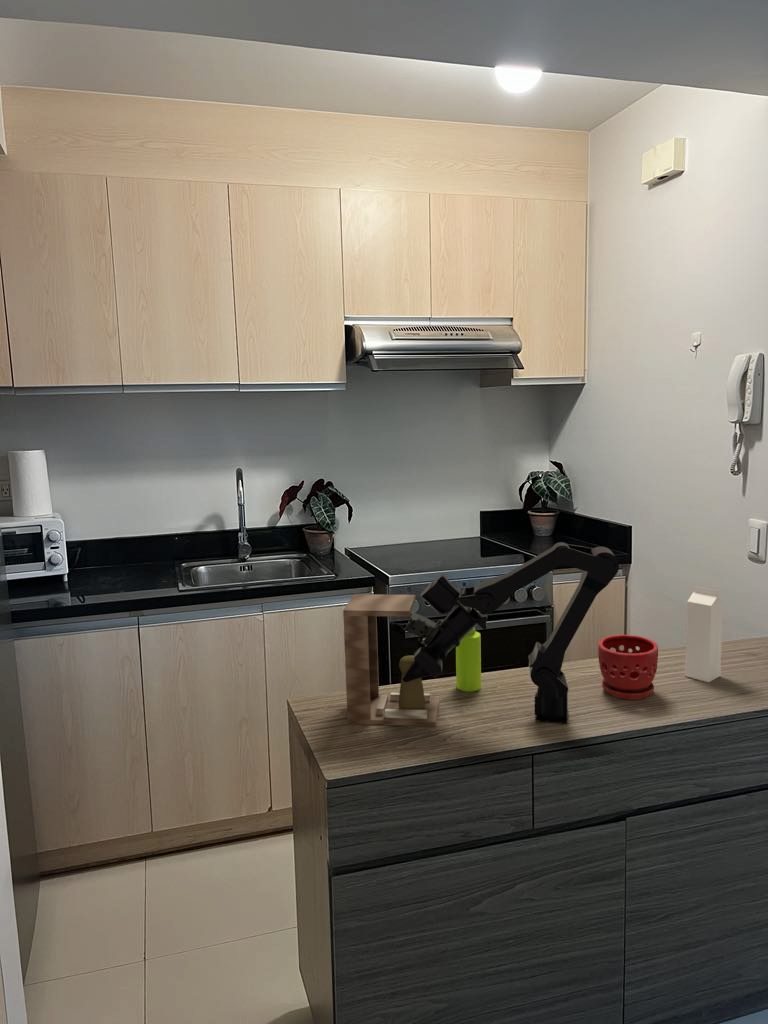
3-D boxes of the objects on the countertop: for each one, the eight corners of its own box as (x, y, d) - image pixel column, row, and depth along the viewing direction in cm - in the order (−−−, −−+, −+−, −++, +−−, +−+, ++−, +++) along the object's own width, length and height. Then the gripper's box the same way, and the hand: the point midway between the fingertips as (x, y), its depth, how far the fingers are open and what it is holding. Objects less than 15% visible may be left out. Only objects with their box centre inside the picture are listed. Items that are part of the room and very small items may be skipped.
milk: (696, 670, 188) (699, 583, 185) (720, 676, 183) (724, 587, 180) (684, 676, 184) (687, 588, 181) (708, 683, 180) (711, 592, 176)
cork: (416, 712, 163) (414, 663, 162) (393, 706, 167) (391, 658, 165) (430, 703, 168) (429, 655, 166) (408, 697, 172) (406, 650, 170)
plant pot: (591, 682, 182) (592, 634, 180) (647, 681, 182) (648, 633, 180) (605, 704, 169) (606, 653, 167) (665, 703, 169) (666, 652, 167)
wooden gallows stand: (439, 701, 173) (437, 594, 169) (435, 726, 161) (433, 611, 157) (357, 699, 176) (354, 594, 172) (347, 723, 163) (343, 610, 159)
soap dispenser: (466, 694, 177) (465, 611, 174) (452, 684, 183) (450, 604, 180) (488, 690, 179) (487, 608, 176) (473, 680, 185) (472, 601, 182)
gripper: (430, 591, 172) (384, 637, 176) (423, 614, 154) (372, 666, 157) (466, 624, 173) (419, 670, 176) (463, 652, 154) (410, 702, 158)
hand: (405, 676), depth 167 cm, fingers closed on cork, 5 cm apart
